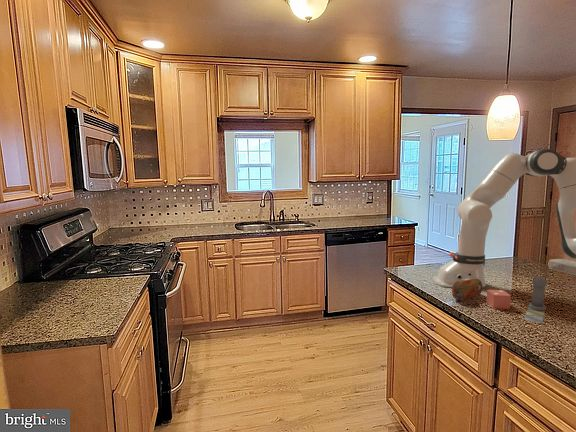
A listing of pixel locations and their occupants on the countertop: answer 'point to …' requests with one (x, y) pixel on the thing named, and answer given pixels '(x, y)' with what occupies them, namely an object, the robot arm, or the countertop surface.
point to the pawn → (538, 294)
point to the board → (533, 318)
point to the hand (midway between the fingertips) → (564, 271)
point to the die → (498, 299)
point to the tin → (466, 289)
